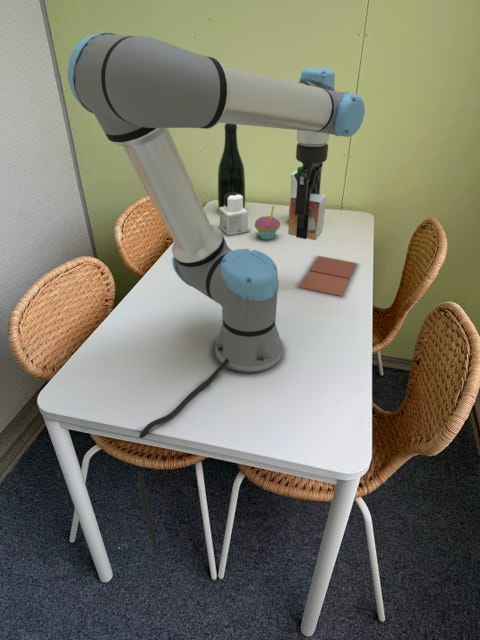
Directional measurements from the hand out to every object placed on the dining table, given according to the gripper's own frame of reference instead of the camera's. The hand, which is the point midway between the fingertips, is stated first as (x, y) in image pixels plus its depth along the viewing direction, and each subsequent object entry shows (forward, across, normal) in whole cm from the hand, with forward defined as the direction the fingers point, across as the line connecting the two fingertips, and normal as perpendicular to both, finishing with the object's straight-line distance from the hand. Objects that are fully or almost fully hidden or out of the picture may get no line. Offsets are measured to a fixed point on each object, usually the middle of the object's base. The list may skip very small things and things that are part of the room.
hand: (305, 232), depth 118 cm
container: (+16, +25, +34) cm, 44 cm away
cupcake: (+16, +24, +21) cm, 35 cm away
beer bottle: (+16, +40, +42) cm, 60 cm away
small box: (+1, 0, 0) cm, 1 cm away
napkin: (+15, +7, -6) cm, 18 cm away
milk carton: (+16, +42, +14) cm, 47 cm away
